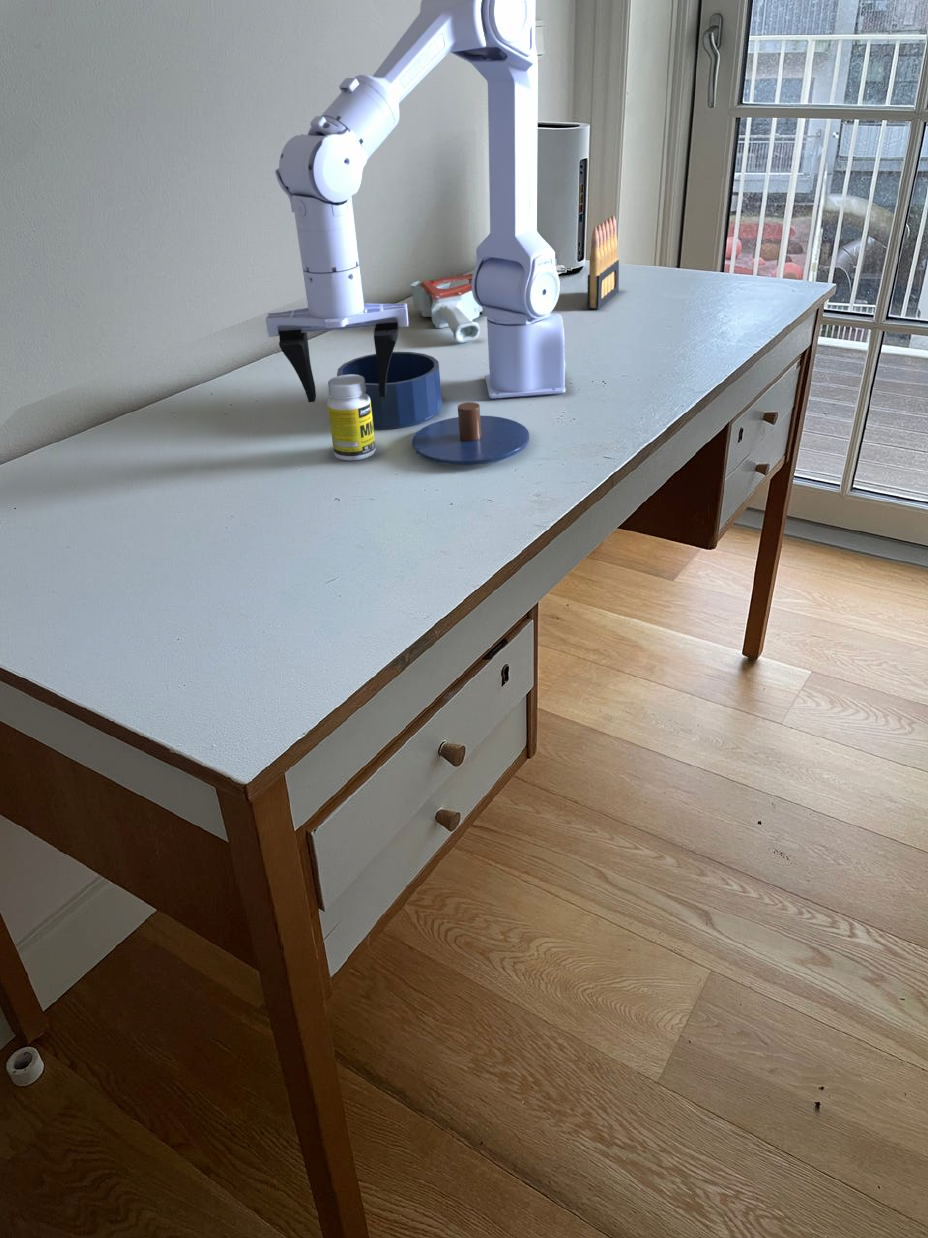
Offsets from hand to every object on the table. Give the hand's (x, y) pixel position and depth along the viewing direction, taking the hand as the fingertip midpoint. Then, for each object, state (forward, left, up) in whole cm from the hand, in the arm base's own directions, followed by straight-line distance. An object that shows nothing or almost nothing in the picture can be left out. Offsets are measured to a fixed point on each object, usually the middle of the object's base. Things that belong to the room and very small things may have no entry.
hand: (347, 396), depth 106 cm
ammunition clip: (-37, -55, -7) cm, 66 cm away
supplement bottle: (0, 0, -7) cm, 7 cm away
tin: (-4, -13, -7) cm, 15 cm away
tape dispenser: (-13, -49, -7) cm, 51 cm away
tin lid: (-13, 0, -6) cm, 14 cm away
